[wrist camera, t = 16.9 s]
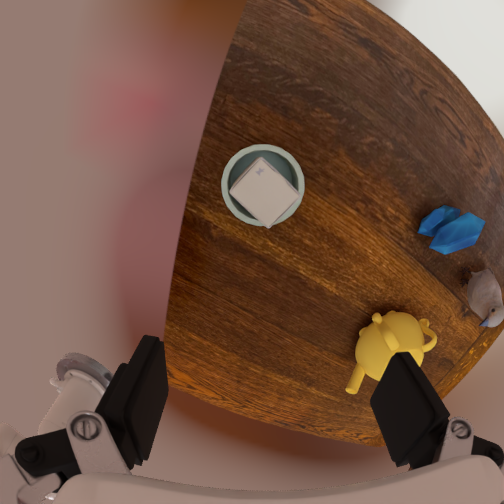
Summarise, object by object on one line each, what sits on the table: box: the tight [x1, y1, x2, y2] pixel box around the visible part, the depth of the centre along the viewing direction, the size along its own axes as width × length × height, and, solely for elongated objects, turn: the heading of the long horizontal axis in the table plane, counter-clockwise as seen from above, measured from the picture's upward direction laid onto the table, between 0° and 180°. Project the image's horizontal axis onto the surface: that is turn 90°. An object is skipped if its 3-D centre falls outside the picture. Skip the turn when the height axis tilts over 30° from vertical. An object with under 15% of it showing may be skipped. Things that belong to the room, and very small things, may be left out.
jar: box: [221, 144, 304, 226], centre depth 33 cm, size 9×9×8 cm
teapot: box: [346, 311, 437, 394], centre depth 39 cm, size 14×14×11 cm
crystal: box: [417, 205, 485, 255], centre depth 34 cm, size 7×9×12 cm
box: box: [229, 157, 301, 228], centre depth 30 cm, size 5×4×13 cm
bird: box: [459, 265, 504, 327], centre depth 34 cm, size 5×14×15 cm, turn 107°
